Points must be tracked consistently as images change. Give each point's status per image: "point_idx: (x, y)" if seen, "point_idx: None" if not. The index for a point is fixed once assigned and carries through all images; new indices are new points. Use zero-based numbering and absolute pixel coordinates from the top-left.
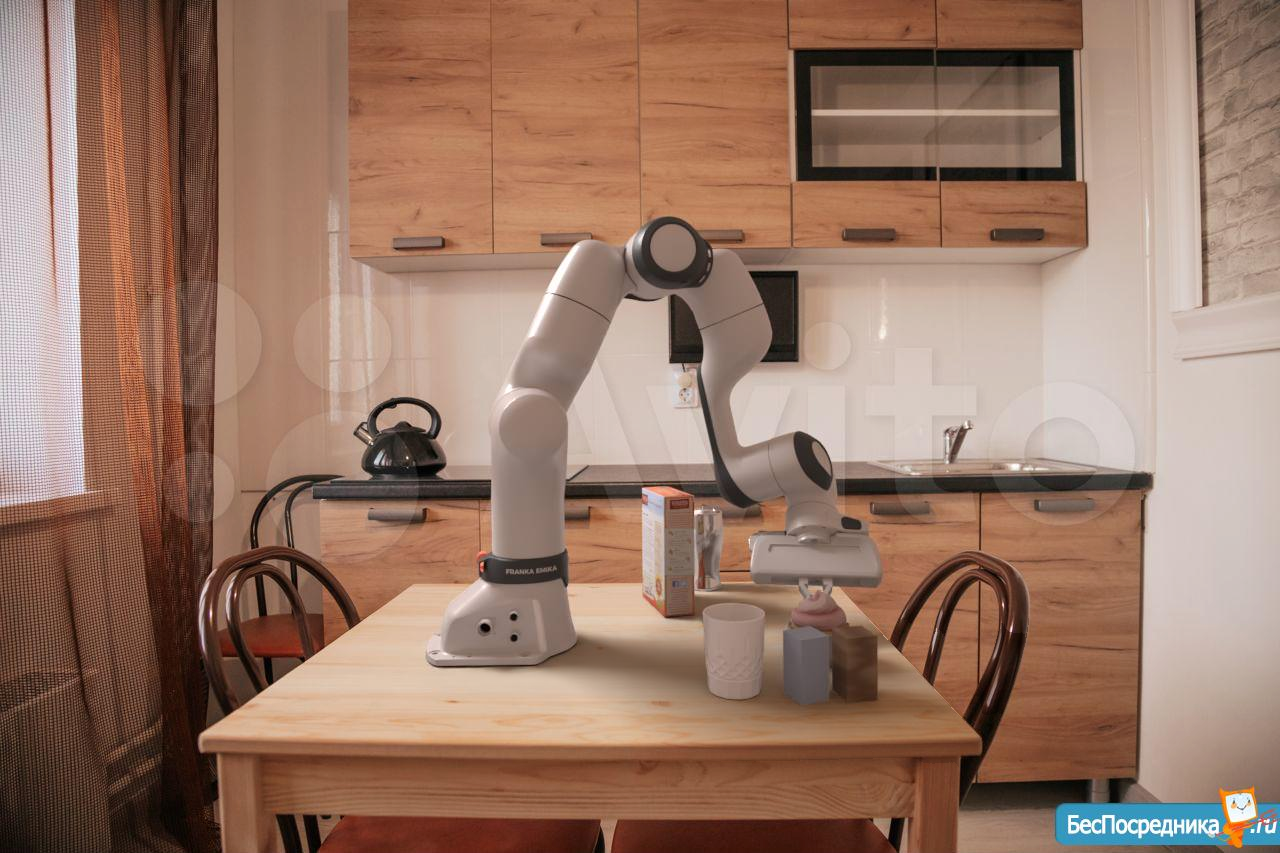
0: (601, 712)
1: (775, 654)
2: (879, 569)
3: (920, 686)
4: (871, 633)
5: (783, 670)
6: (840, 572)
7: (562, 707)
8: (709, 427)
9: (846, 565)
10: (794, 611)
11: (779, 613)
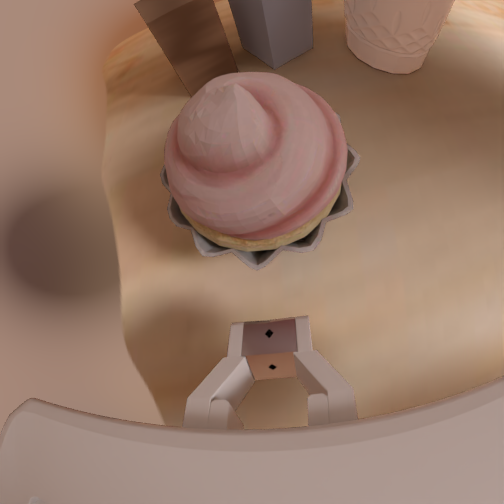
0: (467, 11)
1: (370, 197)
2: (11, 414)
3: (107, 137)
4: (139, 6)
5: (311, 21)
6: (130, 436)
7: (497, 23)
8: None
9: (95, 464)
10: (333, 121)
11: None
